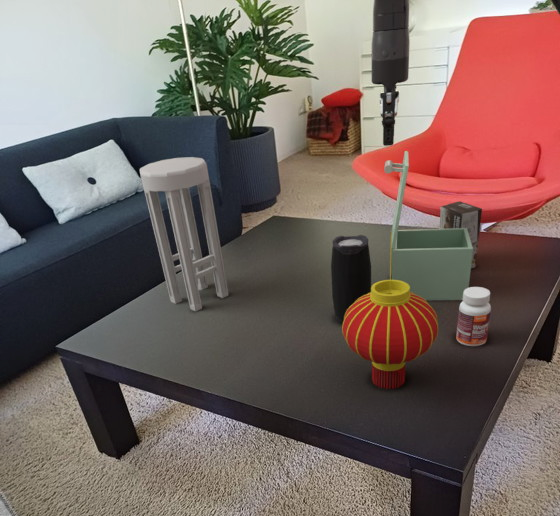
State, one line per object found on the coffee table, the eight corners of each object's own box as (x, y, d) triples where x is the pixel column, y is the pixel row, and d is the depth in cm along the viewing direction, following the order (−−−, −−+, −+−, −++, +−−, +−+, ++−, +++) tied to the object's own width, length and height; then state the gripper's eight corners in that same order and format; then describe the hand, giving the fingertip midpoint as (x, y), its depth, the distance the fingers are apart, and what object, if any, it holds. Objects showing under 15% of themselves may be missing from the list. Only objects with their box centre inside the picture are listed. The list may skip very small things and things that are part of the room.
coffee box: (476, 268, 141) (483, 208, 132) (456, 273, 139) (462, 213, 130) (455, 257, 148) (460, 200, 139) (435, 262, 147) (440, 205, 138)
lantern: (394, 348, 112) (399, 208, 95) (453, 387, 99) (469, 232, 82) (327, 375, 106) (319, 231, 89) (380, 420, 93) (382, 261, 76)
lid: (408, 151, 122) (386, 149, 123) (408, 165, 111) (385, 163, 112) (395, 228, 133) (375, 226, 134) (394, 248, 122) (373, 246, 123)
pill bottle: (474, 351, 108) (480, 301, 102) (449, 340, 112) (454, 292, 106) (492, 340, 111) (499, 291, 105) (468, 330, 115) (473, 282, 109)
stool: (160, 302, 143) (126, 169, 123) (204, 282, 151) (179, 154, 132) (194, 318, 133) (163, 175, 114) (239, 295, 141) (218, 159, 122)
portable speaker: (358, 332, 119) (357, 250, 108) (325, 322, 125) (321, 243, 114) (378, 316, 124) (379, 236, 113) (346, 307, 130) (343, 230, 119)
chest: (461, 277, 137) (467, 227, 130) (467, 301, 126) (473, 248, 119) (392, 278, 141) (393, 230, 133) (391, 301, 130) (392, 250, 122)
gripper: (409, 57, 100) (406, 147, 109) (408, 51, 111) (405, 133, 120) (369, 60, 102) (369, 149, 111) (373, 55, 113) (372, 135, 122)
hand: (388, 141), depth 116 cm, fingers open, 8 cm apart
